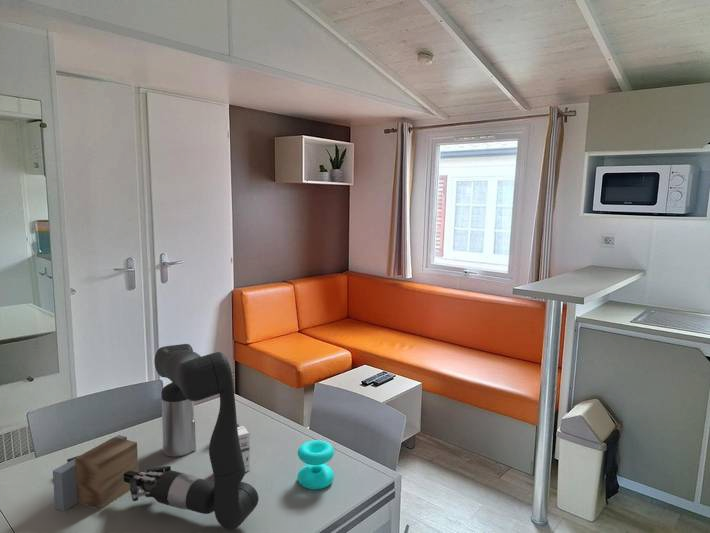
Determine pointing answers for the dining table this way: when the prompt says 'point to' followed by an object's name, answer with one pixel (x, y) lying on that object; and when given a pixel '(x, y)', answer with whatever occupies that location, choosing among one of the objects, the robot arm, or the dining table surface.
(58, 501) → the slate board
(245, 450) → the ink box
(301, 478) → the turquoise spool
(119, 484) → the walnut block
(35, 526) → the dining table surface
